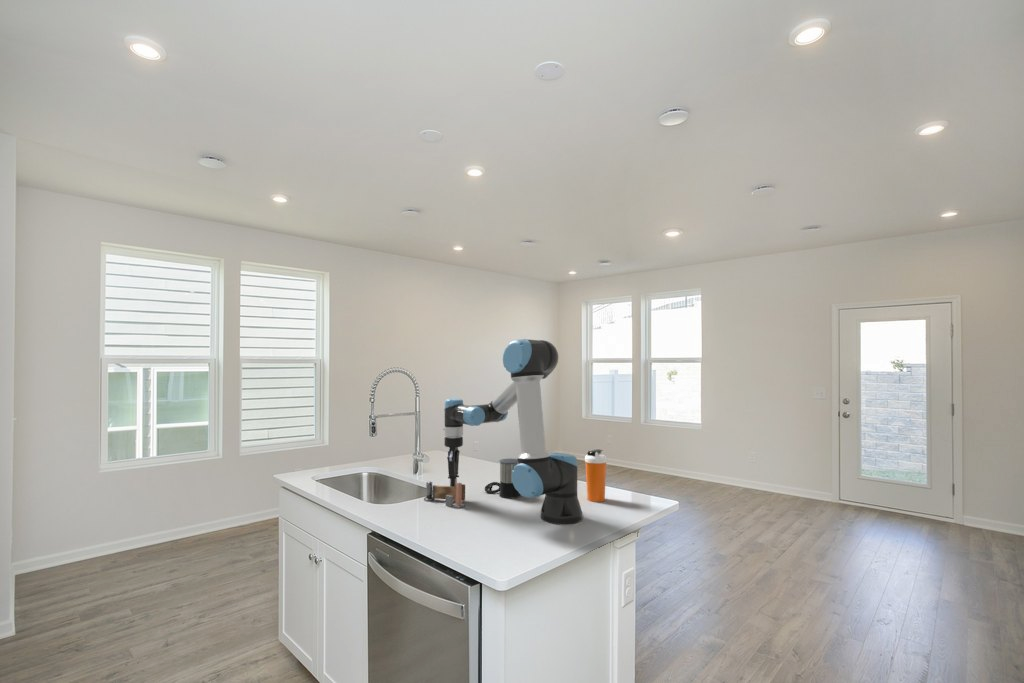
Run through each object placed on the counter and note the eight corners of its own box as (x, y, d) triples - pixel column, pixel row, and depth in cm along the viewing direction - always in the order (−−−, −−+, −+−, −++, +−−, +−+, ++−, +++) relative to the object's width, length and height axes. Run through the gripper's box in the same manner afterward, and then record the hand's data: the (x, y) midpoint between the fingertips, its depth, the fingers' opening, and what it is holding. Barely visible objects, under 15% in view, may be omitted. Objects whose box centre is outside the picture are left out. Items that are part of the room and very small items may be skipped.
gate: (432, 498, 203) (432, 483, 203) (434, 497, 205) (434, 482, 205) (463, 500, 200) (463, 485, 200) (465, 499, 201) (465, 484, 202)
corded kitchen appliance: (520, 498, 206) (520, 462, 206) (482, 498, 206) (483, 462, 206) (520, 489, 220) (520, 456, 220) (485, 489, 220) (485, 456, 221)
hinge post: (436, 499, 205) (436, 482, 205) (429, 501, 201) (429, 484, 201) (429, 497, 207) (429, 480, 207) (421, 499, 204) (421, 482, 204)
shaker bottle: (610, 498, 205) (609, 450, 206) (602, 503, 198) (601, 453, 199) (590, 495, 210) (590, 448, 211) (581, 500, 203) (581, 451, 203)
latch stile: (465, 506, 195) (465, 483, 195) (458, 508, 191) (458, 485, 192) (452, 503, 199) (452, 480, 199) (445, 505, 195) (445, 482, 196)
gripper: (448, 433, 212) (447, 489, 211) (441, 439, 199) (440, 498, 198) (465, 434, 211) (465, 489, 210) (459, 439, 198) (459, 498, 198)
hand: (453, 493), depth 204 cm, fingers closed
